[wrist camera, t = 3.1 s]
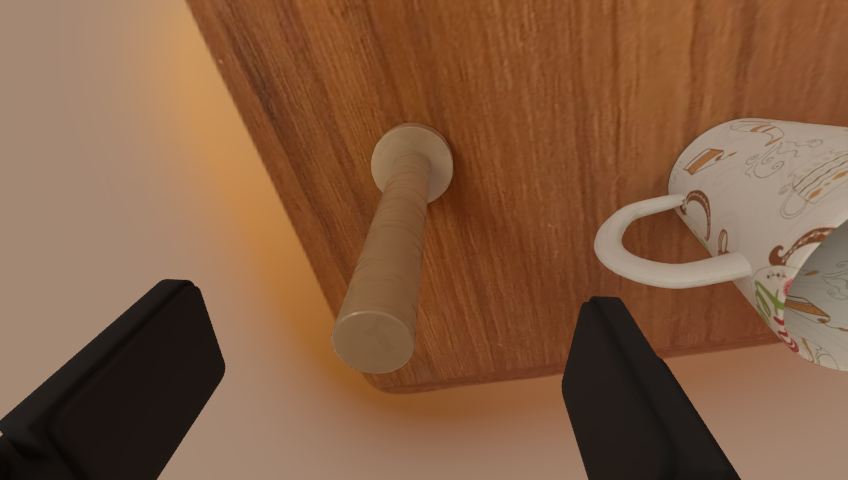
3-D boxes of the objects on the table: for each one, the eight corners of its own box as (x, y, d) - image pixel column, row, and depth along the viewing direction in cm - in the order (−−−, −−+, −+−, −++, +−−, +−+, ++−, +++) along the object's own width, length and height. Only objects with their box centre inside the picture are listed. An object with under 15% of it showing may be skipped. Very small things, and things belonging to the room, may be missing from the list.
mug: (804, 218, 22) (1043, 346, 13) (578, 273, 24) (654, 411, 16) (824, 67, 18) (1174, 105, 9) (555, 150, 21) (637, 241, 12)
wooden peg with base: (375, 198, 23) (295, 403, 10) (371, 121, 20) (262, 264, 8) (451, 200, 22) (460, 410, 10) (454, 122, 20) (471, 270, 8)
